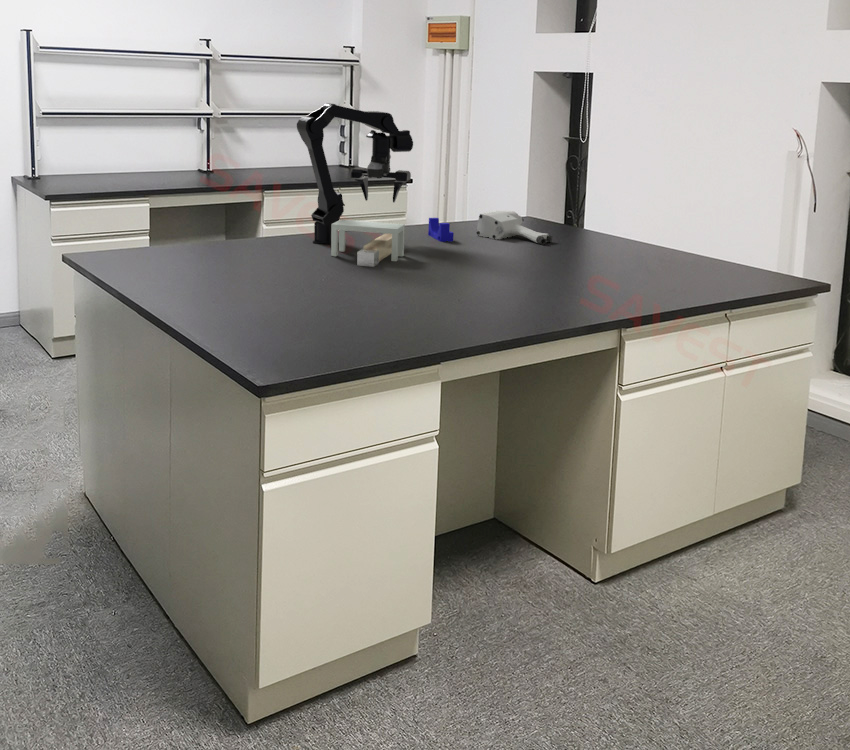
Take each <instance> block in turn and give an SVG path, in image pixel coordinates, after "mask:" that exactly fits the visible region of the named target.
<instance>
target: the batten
mask: <svg viewBox="0 0 850 750" xmlns="http://www.w3.org/2000/svg"><path fill="white" fill-rule="evenodd" d="M363 249H370V250H379V262H381V261H383V260H384V259H385V258H387V257H388V256H390V255H391V253H392V234H386V233H382V234H381V235H379V237H376V238H375V239H374V240H371V241H370V242H368V243H366V244H365V245H363Z"/></svg>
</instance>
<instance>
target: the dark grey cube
mask: <svg viewBox="0 0 850 750" xmlns="http://www.w3.org/2000/svg"><path fill="white" fill-rule="evenodd" d="M356 253H357V254H356V257H357V258H356V259H357V260H356V261H357V262H356V264H357V266H359V267H371V268H373V267H376V266H378V265H379V263H380V261H379V250H370V249H364V248H361V249H360V250H358V251H357V252H356Z"/></svg>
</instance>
